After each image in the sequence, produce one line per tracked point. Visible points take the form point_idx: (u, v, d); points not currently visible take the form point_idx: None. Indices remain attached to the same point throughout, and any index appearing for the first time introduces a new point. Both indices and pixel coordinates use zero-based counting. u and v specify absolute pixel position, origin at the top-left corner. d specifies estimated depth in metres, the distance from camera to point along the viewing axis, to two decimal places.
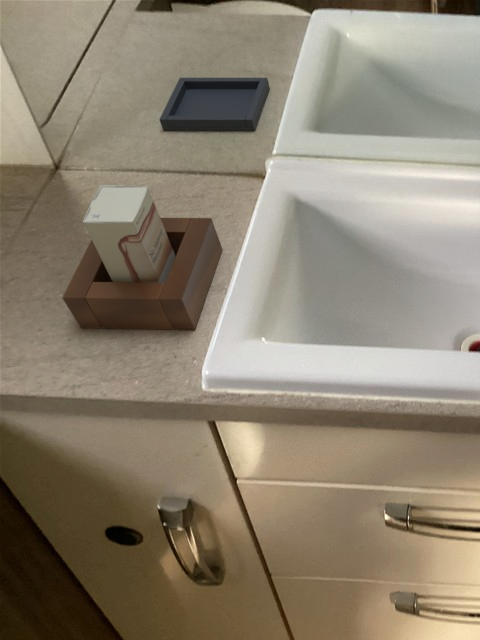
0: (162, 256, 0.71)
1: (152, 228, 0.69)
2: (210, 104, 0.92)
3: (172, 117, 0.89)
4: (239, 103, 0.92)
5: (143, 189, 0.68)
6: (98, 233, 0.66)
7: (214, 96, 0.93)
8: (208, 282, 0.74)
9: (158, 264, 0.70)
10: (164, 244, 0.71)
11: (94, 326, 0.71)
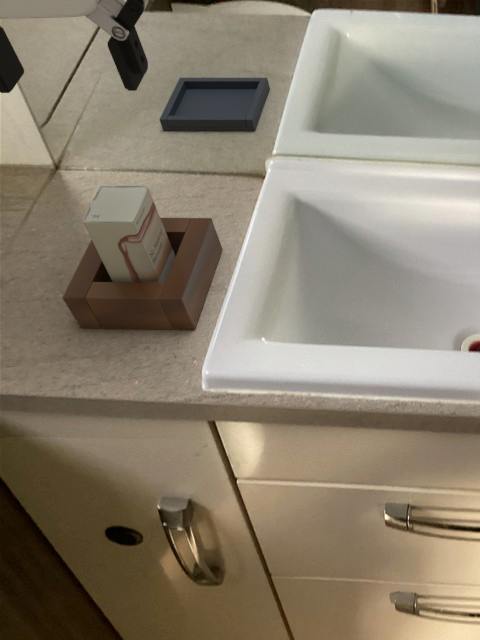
0: (162, 256, 0.71)
1: (152, 228, 0.69)
2: (210, 104, 0.92)
3: (172, 117, 0.89)
4: (239, 103, 0.92)
5: (143, 189, 0.68)
6: (98, 233, 0.66)
7: (214, 96, 0.93)
8: (208, 282, 0.74)
9: (158, 264, 0.70)
10: (164, 244, 0.71)
11: (94, 326, 0.71)
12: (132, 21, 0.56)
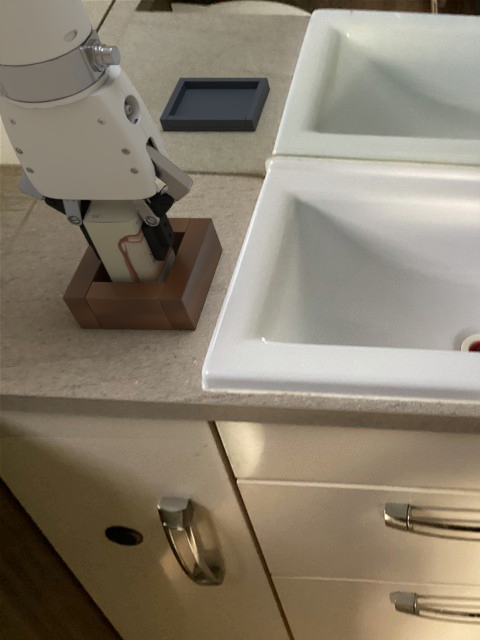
0: None
1: None
2: (210, 104, 0.92)
3: (172, 117, 0.89)
4: (239, 103, 0.92)
5: None
6: (98, 233, 0.66)
7: (214, 96, 0.93)
8: (208, 282, 0.74)
9: (158, 264, 0.70)
10: None
11: (94, 326, 0.71)
12: (163, 211, 0.66)
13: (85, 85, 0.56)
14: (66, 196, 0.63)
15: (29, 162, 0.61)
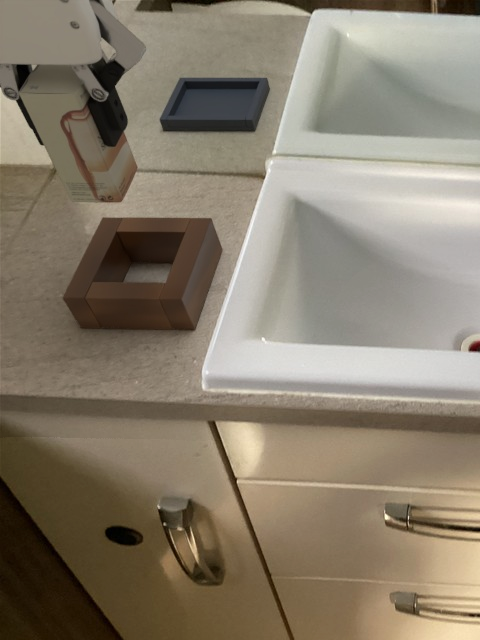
0: None
1: None
2: (210, 104, 0.92)
3: (172, 117, 0.89)
4: (239, 103, 0.92)
5: None
6: (37, 108, 0.58)
7: (214, 96, 0.93)
8: (208, 282, 0.74)
9: (108, 152, 0.62)
10: None
11: (94, 326, 0.71)
12: (112, 84, 0.58)
13: None
14: None
15: None
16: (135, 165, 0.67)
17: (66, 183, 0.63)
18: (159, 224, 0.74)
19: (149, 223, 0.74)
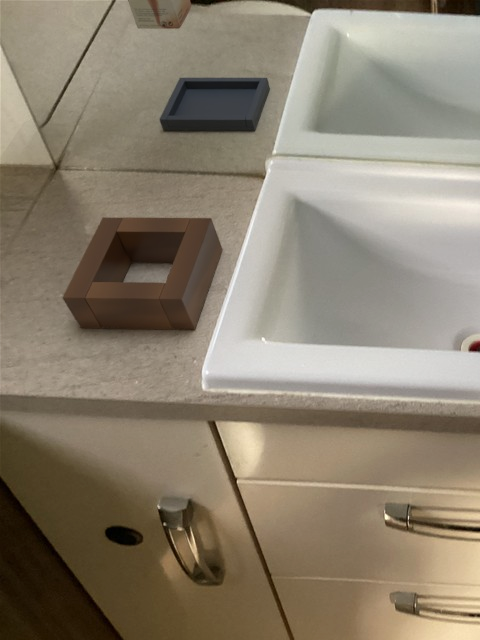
0: None
1: None
2: (210, 104, 0.92)
3: (172, 117, 0.89)
4: (239, 103, 0.92)
5: None
6: None
7: (214, 96, 0.93)
8: (208, 282, 0.74)
9: None
10: None
11: (94, 326, 0.71)
12: None
13: None
14: None
15: None
16: (189, 3, 0.79)
17: (134, 9, 0.75)
18: (159, 224, 0.74)
19: (149, 223, 0.74)
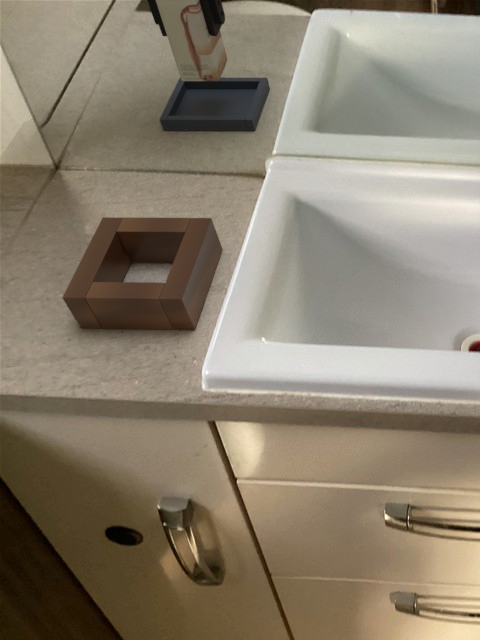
0: None
1: None
2: (210, 104, 0.92)
3: (172, 117, 0.89)
4: (239, 103, 0.92)
5: None
6: (165, 3, 0.80)
7: (214, 96, 0.93)
8: (208, 282, 0.74)
9: (211, 40, 0.85)
10: None
11: (94, 326, 0.71)
12: None
13: None
14: None
15: None
16: (226, 56, 0.90)
17: (179, 65, 0.86)
18: (159, 224, 0.74)
19: (149, 223, 0.74)
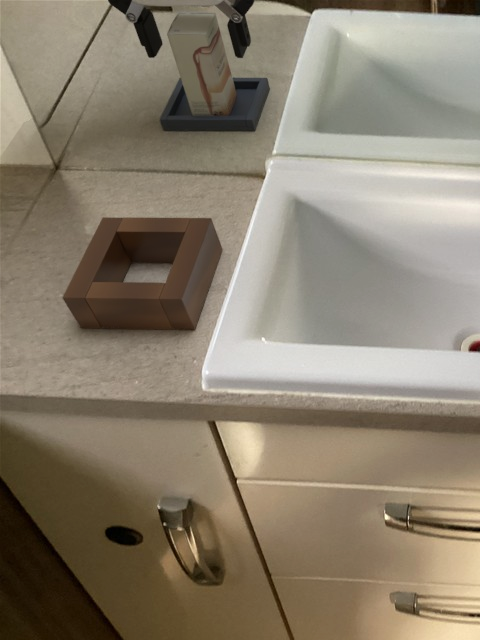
0: (224, 73, 0.89)
1: (218, 47, 0.87)
2: None
3: (172, 117, 0.89)
4: (239, 103, 0.92)
5: (212, 14, 0.86)
6: (178, 45, 0.84)
7: None
8: (208, 282, 0.74)
9: (222, 79, 0.88)
10: (226, 65, 0.89)
11: (94, 326, 0.71)
12: (245, 9, 0.82)
13: None
14: (152, 2, 0.81)
15: None
16: (235, 92, 0.93)
17: (191, 102, 0.89)
18: (159, 224, 0.74)
19: (149, 223, 0.74)
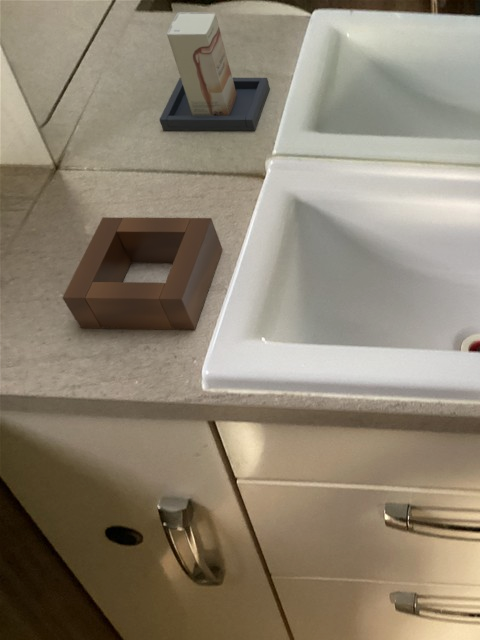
0: (224, 73, 0.89)
1: (218, 47, 0.87)
2: None
3: (172, 117, 0.89)
4: (239, 103, 0.92)
5: (212, 14, 0.86)
6: (178, 45, 0.84)
7: None
8: (208, 282, 0.74)
9: (222, 79, 0.88)
10: (226, 65, 0.89)
11: (94, 326, 0.71)
12: None
13: None
14: None
15: None
16: (235, 92, 0.93)
17: (191, 102, 0.89)
18: (159, 224, 0.74)
19: (149, 223, 0.74)
